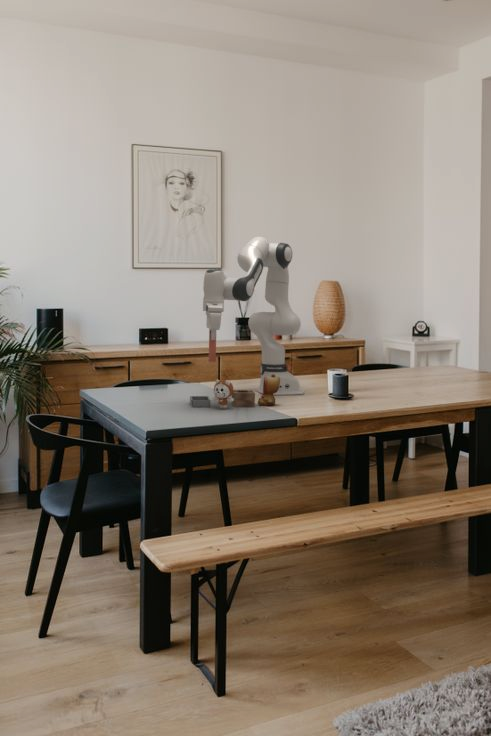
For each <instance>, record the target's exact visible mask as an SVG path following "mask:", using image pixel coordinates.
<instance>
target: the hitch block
mask: <svg viewBox="0 0 491 736" xmlns="http://www.w3.org/2000/svg"><path fill="white" fill-rule="evenodd" d="M230 398H233V399H234V401H233V402H231V401H230V402H231V403H230V404H231V405H232V407H233V408H255V405H256V393H255V391H254V390H252V389H233V394H232V395H231V396H230Z"/></svg>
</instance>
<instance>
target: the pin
mask: <svg viewBox="0 0 491 736" xmlns="http://www.w3.org/2000/svg"><path fill="white" fill-rule="evenodd" d="M208 331H209V330H208ZM208 334H209V335H208V336H209V337H208V362H216V361H217V360H216V359H217V358H216V357H217V356H216V355H217V337H216V338H215V340H211V331H209V332H208Z"/></svg>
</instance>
